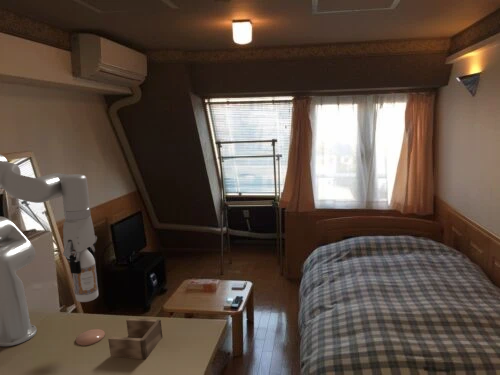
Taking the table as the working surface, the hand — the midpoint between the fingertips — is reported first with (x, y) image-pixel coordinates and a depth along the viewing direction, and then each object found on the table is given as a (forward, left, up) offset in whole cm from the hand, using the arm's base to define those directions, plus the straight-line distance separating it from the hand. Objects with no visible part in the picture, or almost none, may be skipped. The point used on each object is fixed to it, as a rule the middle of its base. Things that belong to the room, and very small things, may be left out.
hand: (83, 267), depth 133 cm
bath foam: (0, 0, -10) cm, 10 cm away
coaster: (-2, +1, -25) cm, 25 cm away
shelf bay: (+16, -2, -25) cm, 30 cm away
